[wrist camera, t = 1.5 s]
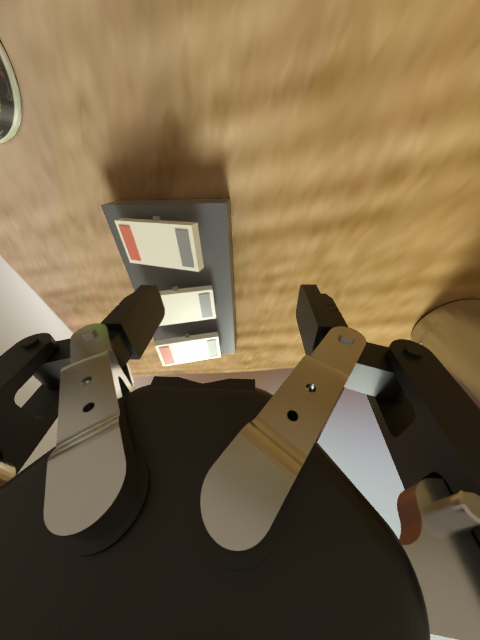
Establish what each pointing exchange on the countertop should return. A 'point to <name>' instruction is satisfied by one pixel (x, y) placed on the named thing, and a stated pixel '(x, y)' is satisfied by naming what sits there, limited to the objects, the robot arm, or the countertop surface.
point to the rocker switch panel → (216, 270)
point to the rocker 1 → (162, 243)
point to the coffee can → (8, 99)
